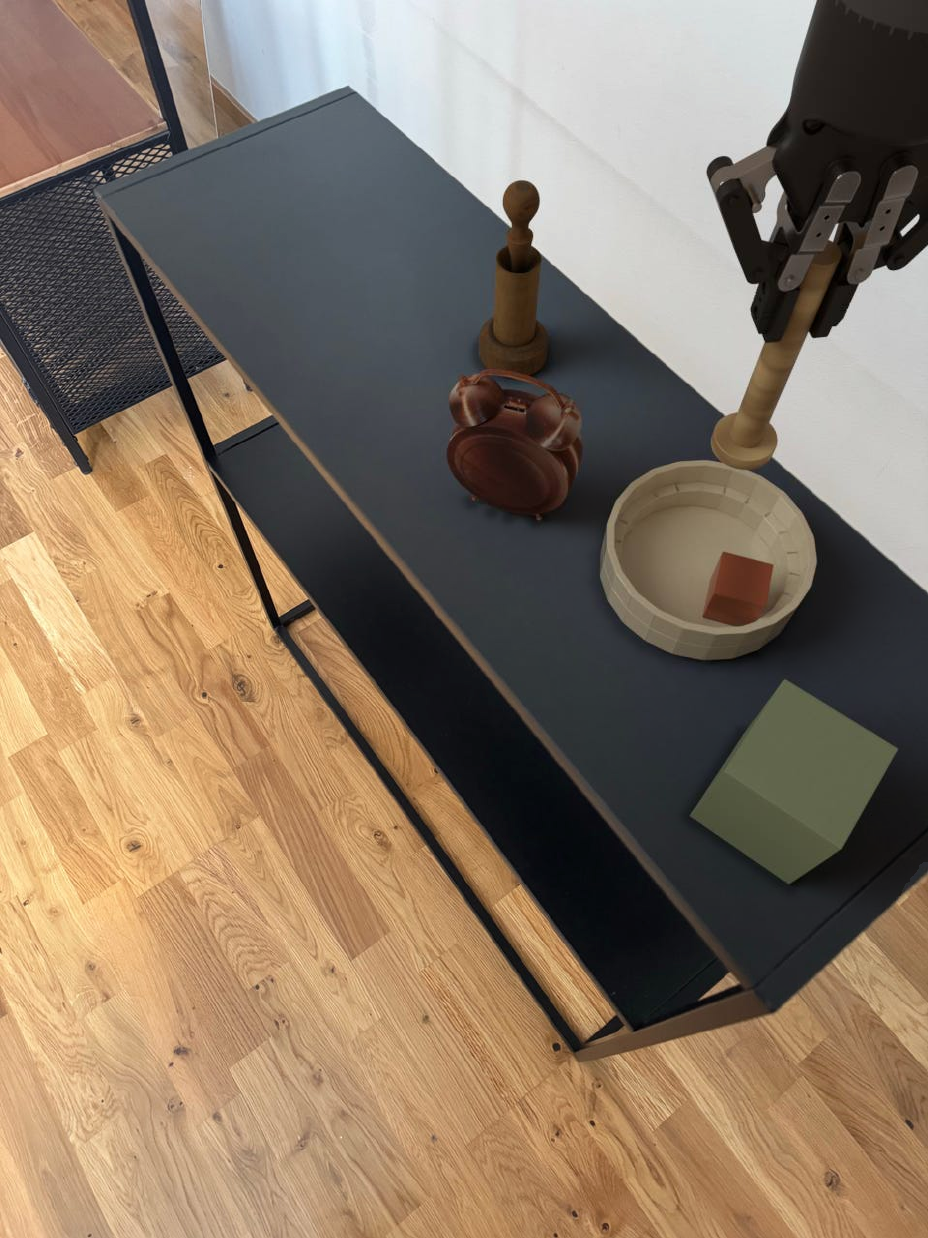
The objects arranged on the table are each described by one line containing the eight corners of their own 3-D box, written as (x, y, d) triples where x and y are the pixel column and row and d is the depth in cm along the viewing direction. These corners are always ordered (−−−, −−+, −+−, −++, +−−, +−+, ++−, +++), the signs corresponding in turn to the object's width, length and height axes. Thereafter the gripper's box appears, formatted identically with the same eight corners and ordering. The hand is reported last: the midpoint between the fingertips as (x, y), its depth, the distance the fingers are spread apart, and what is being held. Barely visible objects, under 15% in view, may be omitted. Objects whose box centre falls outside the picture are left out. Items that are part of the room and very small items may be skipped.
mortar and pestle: (559, 346, 86) (578, 177, 70) (525, 389, 84) (537, 223, 68) (500, 320, 88) (507, 149, 72) (466, 361, 85) (464, 193, 69)
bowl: (830, 559, 74) (852, 525, 70) (733, 701, 68) (751, 674, 64) (664, 466, 79) (676, 429, 75) (560, 591, 73) (566, 559, 69)
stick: (784, 440, 57) (876, 244, 44) (755, 480, 56) (840, 290, 42) (729, 412, 58) (802, 213, 45) (699, 451, 57) (765, 257, 44)
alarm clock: (578, 494, 78) (599, 371, 64) (561, 537, 75) (580, 418, 62) (462, 460, 80) (460, 333, 66) (442, 501, 77) (436, 378, 64)
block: (759, 589, 72) (774, 563, 69) (751, 631, 70) (766, 606, 67) (710, 577, 73) (722, 550, 69) (701, 617, 71) (713, 592, 67)
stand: (840, 796, 64) (898, 748, 56) (788, 885, 62) (841, 849, 53) (743, 733, 67) (784, 678, 58) (689, 816, 64) (723, 771, 55)
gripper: (780, 42, 31) (682, 393, 46) (1159, 8, 31) (939, 366, 47) (723, -64, 35) (650, 294, 50) (1064, -92, 35) (889, 270, 50)
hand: (791, 328), depth 48 cm, fingers closed on stick, 2 cm apart
